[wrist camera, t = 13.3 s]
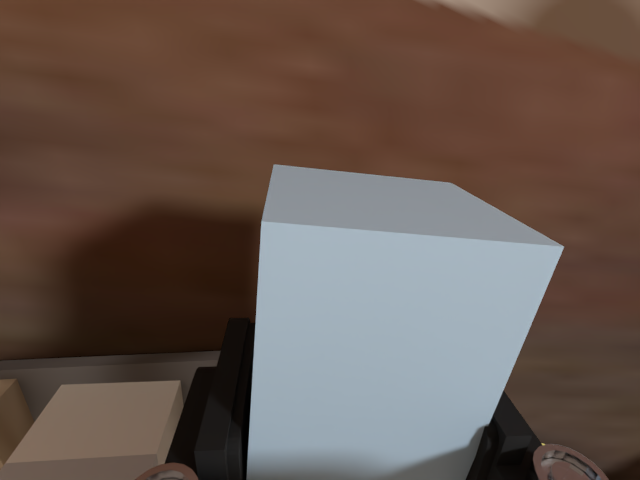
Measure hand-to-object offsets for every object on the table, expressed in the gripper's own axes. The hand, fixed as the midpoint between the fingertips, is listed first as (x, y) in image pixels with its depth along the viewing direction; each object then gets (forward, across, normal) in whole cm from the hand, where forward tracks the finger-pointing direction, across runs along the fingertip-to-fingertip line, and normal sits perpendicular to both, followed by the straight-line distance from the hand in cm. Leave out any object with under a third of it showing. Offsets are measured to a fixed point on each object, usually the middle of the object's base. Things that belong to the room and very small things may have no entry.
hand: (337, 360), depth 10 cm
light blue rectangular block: (+1, 0, 0) cm, 1 cm away
